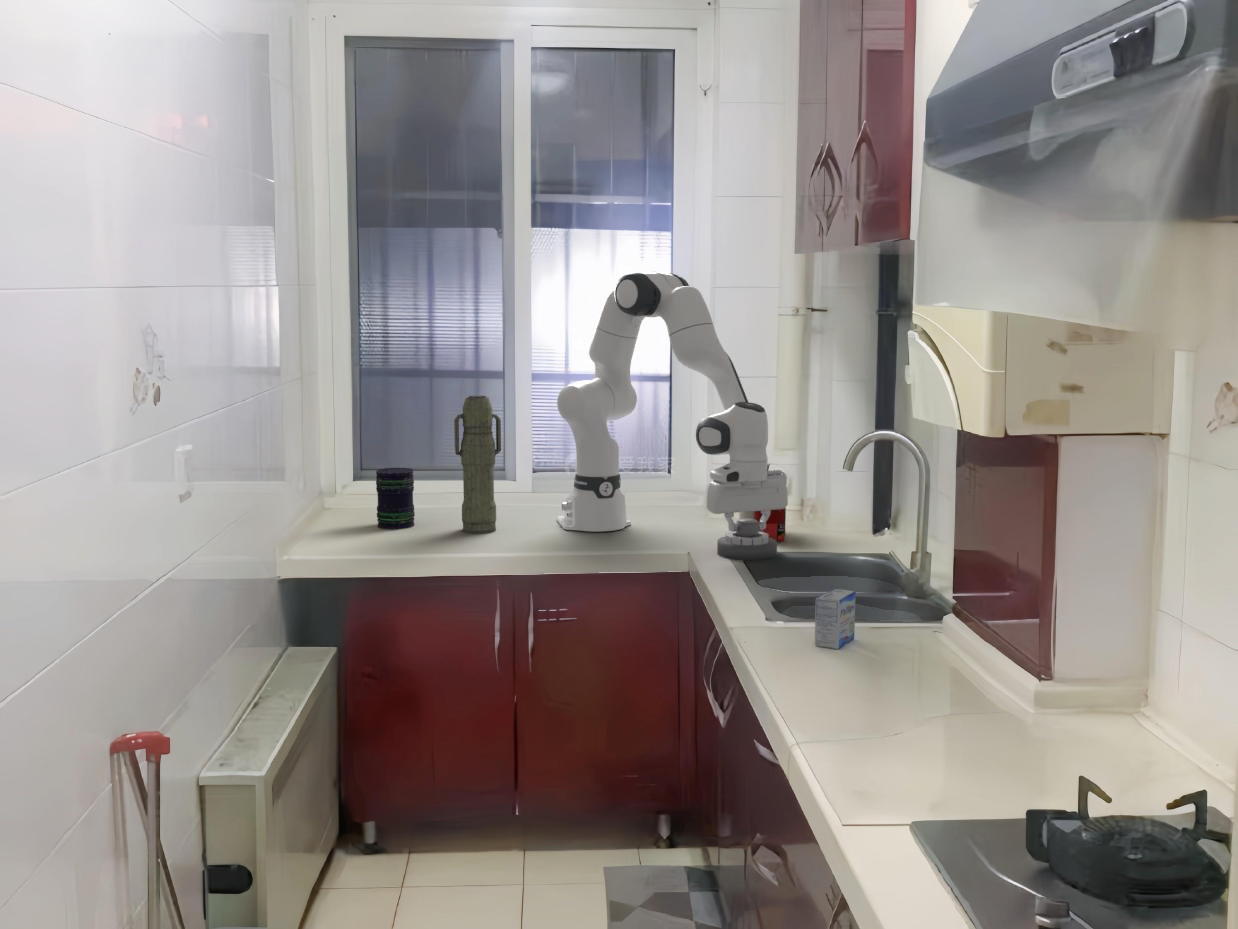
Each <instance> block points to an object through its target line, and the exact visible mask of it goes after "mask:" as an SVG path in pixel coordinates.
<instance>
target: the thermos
mask: <svg viewBox="0 0 1238 929" xmlns="http://www.w3.org/2000/svg"><path fill="white" fill-rule="evenodd" d="M493 418H494V419H495V439H494V436H493V433H494V432H493V428H492V427H493ZM460 419H462V427H463V432H462V438H461V439H462V440H461V443H460V425H459V424H460ZM453 422H454V423H453V425H454V431H453V432H454V452H455V455H456V456H459V457H460V461H461V462H460V464H461V466H462V478H463V480H462V481H463V501H462V504H461V522H462V532H464V533H466V534H467V533H468V534H490V533H494V532H496V530H497V528H496V521H497V505H496V502H495V501H496V500H495V489H494V488H495V485H494V484H495V483H494V480H495V479H494V477H495V476H494V473H495V472H494V468H495V464H496V456H497V455H499V454H500V453H501V451H502V434H501V433H502V425H501V423H502V422H501V418H500V417H499V416H498V415H497V414H496V413H495V414H494V413H493V407H492V402H491V400H490V397H488V396H487V395H468V397H465V398H464V402H463V406H462V413H460V414H457V416H456V417H455V418H454V421H453ZM495 442H496V443H495Z"/></svg>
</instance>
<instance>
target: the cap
mask: <svg viewBox="0 0 1238 929" xmlns="http://www.w3.org/2000/svg"><path fill="white" fill-rule="evenodd" d="M736 524H738V527H737V529H738V530H737V531H736V537H743V538H754V537H758V526H759V522H758V521H757V520H755V519H738V520H737V521H736Z"/></svg>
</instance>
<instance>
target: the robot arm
mask: <svg viewBox="0 0 1238 929" xmlns="http://www.w3.org/2000/svg"><path fill="white" fill-rule="evenodd" d="M657 317H660V318H662V320H663V321H664V322H665V326H666V329H667V333H668V337H669V341H670V345H671V349H672V352H673V353H674V356H675V357H676V360H678V362H679V363H680V364H681V365H683V366H684V367H686V368H688V369H690V370H692V371H695V372H698V373H699V374H702V375H704V376H705V377H706V378H707V379H709V380H710V381H711V382H712V383H713V385H714V386H715V389H716V392H717V394H718V396H719V399H720V402H721V404H722V407H723V409H724V410H723V411H722V412H718V413H715V414H712V415H709V416H706V417H703V418H702V419H701V420H700V421H699V422H698V424H697V426H696V428H695V438H696V439H695V440H696V443H697V446H698V447H699V448H700V450H701V451H702V452H703V453H705V454H707V455H711V456H720V455H729V463H726V464H725V465H722V466H720V467H717V468H715V469H713V470H712V469H711V471H710V473H709V478H710V479H711V482H709V484H708V487H707V491H706V493H707V494H706V509H707V510H708V512H709V513H712V514H714V515H720V514H723V515H724V518H725V521H726V522H727V524H728V532H733V531H737V530H738V529H737V527H738V524H736V523H735V521H734V520H733V518H734V517H735V515H734V514H735V513H739V512H749V511H761V513H762V514H763V515H762V517H761V519H760V521H758V522H759V526H758V529H765V528H766V521H767V520H768V518H769V516H770V511H771V510H776V509H785V508H786V509H787V506H788V505H789V500H788V499H789V496H788V488H787V483H788V475H787V474H786V473H785V472H784V471H782V470H781V469H776V470H768V471H767V462H769V461H768V460H769V459H768V454H767V447H768V446H767V445H768V442H769V422H768V415H767V412H766V410H765V408H764V407H763V406H762V405H760V404H758V403H755V402H749V400H748V398H747V395H746V392H745V390H744V388H743V385H742V383H741V380H740V377H739V374H738V372H737V370H736V368H735V365H734V362H733V361H732V359H731V358H730V356H729V354H728V353H727V352H726V351H725V349H724V347H723V346H722V343H721V342H720V339H719V338H718V335H717V332H716V330H715V329H716V328H715V326H714V323H713V319H712V316H711V313H710V311H709V308H708V305H707V303H706V301H705V299H704V297H703V295H702V293H701V292H700V290H698V289H697V288H696V287H694V286H691V285H689V283H688V281H687V280H686V279H685V278H683V277H682V276H680V275H677V274H674V273H667V272H661V271H651V272H650V271H649V272H646V271H645V272H640V271H636V272H630V273H626V274H625V275H623V276H622V277H620V278H619V279H618V281H617V283H616V285H615V286H614V288H613V289H611V290H610V291H609V292H608V294H607V296H606V297H605V299H604V301H603V304H602V306H601V308H600V312H599V314H598V317H597V320H596V323H595V327H594V332H593V335H592V339H591V343H590V346H589V351H588V355H589V358H590V360H591V361H592V362H593V363H594V376H593V379H592V380H580V381H576V382H573V383H570V384H569V385H566V386H565V387H563V388H561V390H560V392H559V393H558V396H557V400H556V404H557V409H558V410H557V411H558V412H559V414H560V417H561V418H563V419H564V420H565V421H566V423H567V424H568V425H569V427H570V429H571V431H572V435H573V439H574V442H575V450H576V452H575V454H576V474H575V476H574V481H573V482H574V483H573V487H574V489H573V490H572V491H571V493H570V494H569V495H568V496H567V498H565V501H563V502H561V511H563V512H564V514H563V515H558V516H557V517H556V521H557V522H558V524H559V525H560V526H561V527H562V529H564V530H567V531H580V532H581V531H582V532H612V531H618V530H622V529H624V528H625V527H629V526H631V525H632V521H631V520H629V519H627V509H626V508H627V507H626V497H625V494H624V493H623V491H621V489H620V488H621V483H622V482H621V481H622V480H621V474H620V473H619V471H620V467H619V466H620V465H619V464H620V463H619V462H620V456H619V455H620V454H619V453H620V452H619V451H620V447H619V444H618V443H617V441H616V440H615V439H614V438H612V436H611V433H610V431H609V427H608V421H616V420H620V419H622V418H624V417H626V416H629V415H630V414H631V413H632V412H633V411H634V410H635V408H636V406H637V402H638V397H637V392H636V389H635V388H634V386H633V384H632V382H631V365H632V358H633V355H634V352H635V347H636V343H637V340H638V335H639V331H640V329H641V328H640V327H641V325H642V322H643V321H644V319H645V318H657Z"/></svg>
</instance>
